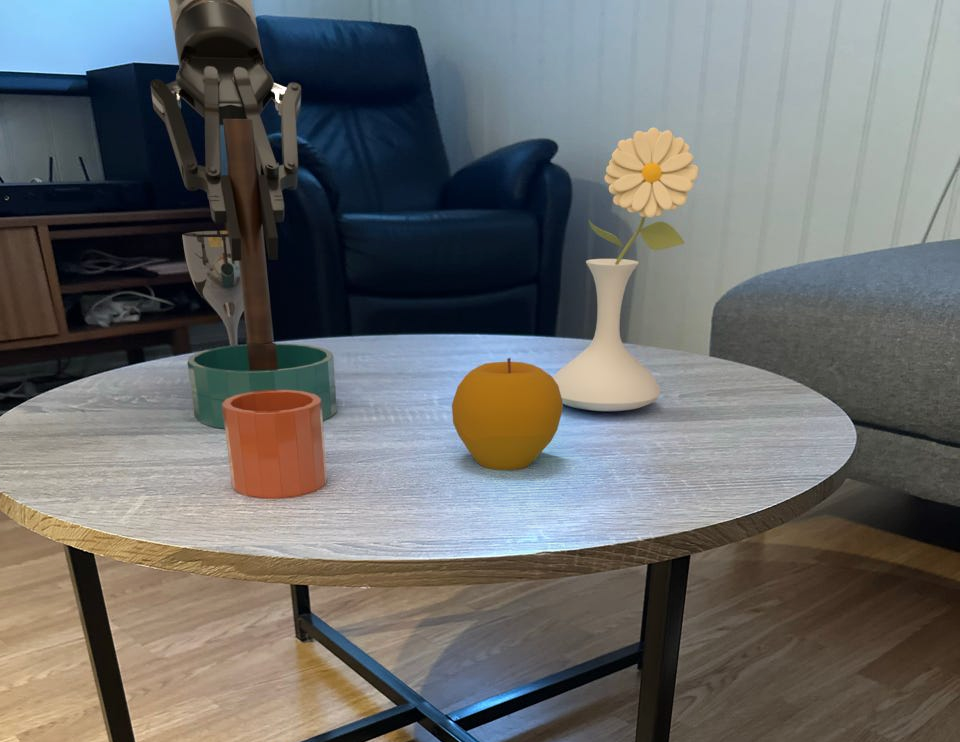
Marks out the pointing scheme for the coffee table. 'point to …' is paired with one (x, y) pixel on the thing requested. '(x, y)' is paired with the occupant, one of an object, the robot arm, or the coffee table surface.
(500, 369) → the apple
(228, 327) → the wine glass
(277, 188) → the robot arm
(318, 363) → the bowl
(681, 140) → the flower in vase
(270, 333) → the stick
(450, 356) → the coffee table surface
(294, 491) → the crock
